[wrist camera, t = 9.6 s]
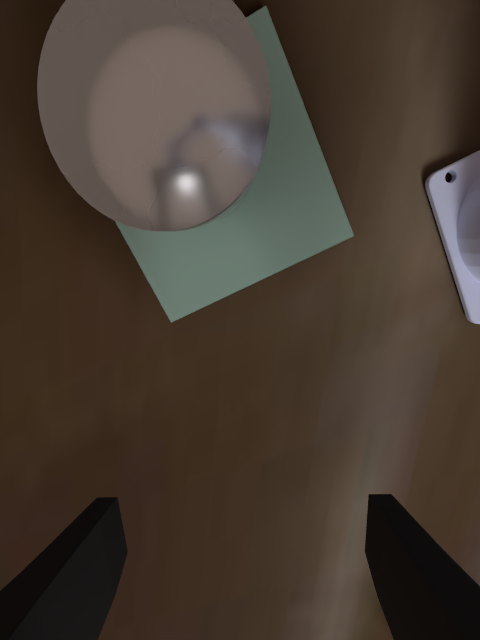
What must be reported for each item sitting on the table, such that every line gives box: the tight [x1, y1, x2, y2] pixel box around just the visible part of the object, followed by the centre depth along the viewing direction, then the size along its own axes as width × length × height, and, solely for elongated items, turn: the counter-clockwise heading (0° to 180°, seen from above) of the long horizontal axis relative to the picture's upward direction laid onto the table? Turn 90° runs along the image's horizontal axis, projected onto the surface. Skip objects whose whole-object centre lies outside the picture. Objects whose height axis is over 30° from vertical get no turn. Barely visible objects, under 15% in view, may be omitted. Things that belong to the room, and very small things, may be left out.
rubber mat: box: [115, 6, 354, 322], centre depth 15 cm, size 10×10×1 cm
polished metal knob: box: [37, 0, 271, 231], centre depth 10 cm, size 5×5×8 cm
